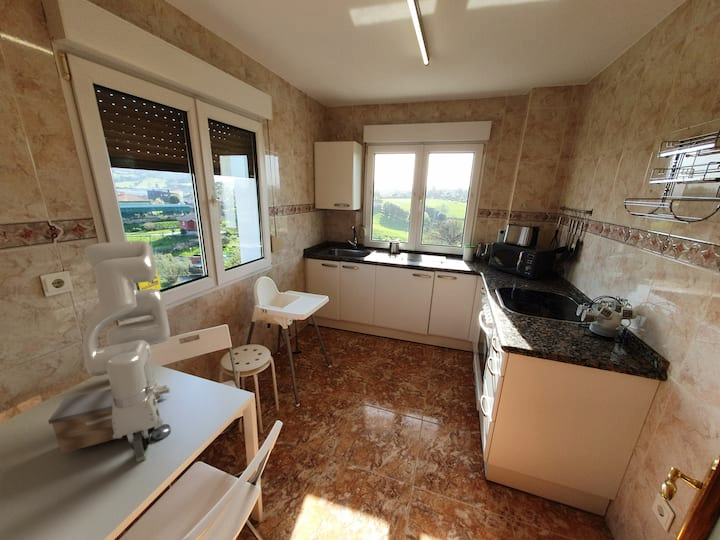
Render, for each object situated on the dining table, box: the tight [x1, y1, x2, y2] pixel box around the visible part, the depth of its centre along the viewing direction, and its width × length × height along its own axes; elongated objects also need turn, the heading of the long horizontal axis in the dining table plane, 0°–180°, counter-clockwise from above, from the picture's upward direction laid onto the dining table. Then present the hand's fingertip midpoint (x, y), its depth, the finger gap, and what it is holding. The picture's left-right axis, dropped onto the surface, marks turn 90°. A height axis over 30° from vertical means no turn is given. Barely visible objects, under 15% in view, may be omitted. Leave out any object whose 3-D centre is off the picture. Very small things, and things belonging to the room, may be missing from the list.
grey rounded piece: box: [151, 423, 172, 442], centre depth 90 cm, size 5×5×2 cm
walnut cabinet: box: [47, 381, 149, 454], centre depth 86 cm, size 21×10×15 cm, turn 116°
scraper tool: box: [131, 432, 152, 463], centre depth 84 cm, size 2×10×8 cm, turn 25°
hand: (142, 447), depth 83 cm, fingers closed on scraper tool, 1 cm apart
